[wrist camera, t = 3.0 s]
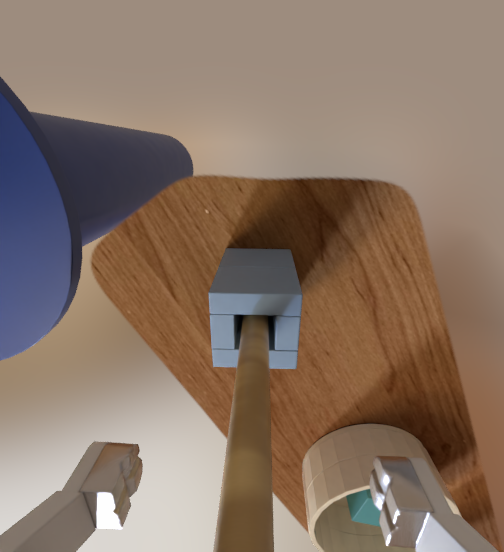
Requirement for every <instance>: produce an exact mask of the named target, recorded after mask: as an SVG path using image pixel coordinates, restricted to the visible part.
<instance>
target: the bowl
mask: <svg viewBox="0 0 504 552" xmlns="http://www.w3.org/2000/svg"><path fill="white" fill-rule="evenodd" d="M375 456H400V457H414V458H423V459H424V460H425V461H426V462H427V464H428V466H429V468H430V470H431V472H432V474H433V476H434V478H435V480H436V482H437V483H438V485H439V487H440V489H441V491H442V493H443V495H444V497H445V499H446V501H447V503H448V505H449V506H450V508H451V510H452V512H453V514H459V515H460V516H461V514H460V511H459V509H458V507H457V505H456V504H455V502H454V500H453V498H452V496H451V494H450V492H449V491H448V489H447V487H446V485H445V483H444V481H443V480H442V478H441V476H440V474H439V472H438V470H437V469H436V467H435V465H434V463H433V461H432V459H431V458H430V456H429V454H428V452H427V450H426V449H425V447H424V446H423V444H422V443H421V442H420V441H419V440H418V439H417V438H416V437H415V436H413V435H412V434H410V433H408V432H407V431H404V430H402V429H400V428H396V427H393V426H389V425H383V424H359V425H353V426H348V427H344V428H341V429H338V430H336V431H333V432H331V433H329V434H327V435H325V436H324V437H322V438H321V439H319V440H318V441H317V442H316V443H314V444H313V445H312V447H311V448H310V449H309V450H308V452H307V453H306V455H305V457H304V460H303V464H302V478H303V486H304V495H305V503H306V512H307V520H308V529H309V534H310V537H311V540H312V543H313V544H314V545H315V547H316V548H317V549H318V550H319V551H320V552H416V551H415V549H416V548H405V547H395V546H387V545H386V542H385V539H384V536H383V532H382V529H381V527H379V526H374V525H370V524H365V523H360V522H355V521H352V519H351V515H350V511H349V507H348V503H347V498H346V496H347V495H349V494H352V493H356V492H359V491H363V490H366V489H370V481H369V478H370V473H371V471H372V470H374V469H375V468H374V465H373V460H374V457H375ZM461 517H462V516H461Z"/></svg>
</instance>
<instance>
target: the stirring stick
mask: <svg viewBox="0 0 504 552" xmlns="http://www.w3.org/2000/svg"><path fill="white" fill-rule="evenodd" d="M273 539H274V537H273V497H272V454H271V412H270V371H269V329H268V315H244V314H243V322H242V330H241V338H240V346H239V354H238V362H237V369H236V377H235V385H234V393H233V401H232V409H231V417H230V424H229V432H228V440H227V448H226V456H225V464H224V472H223V480H222V487H221V496H220V503H219V511H218V519H217V527H216V535H215V542H214V551H213V552H274V540H273Z"/></svg>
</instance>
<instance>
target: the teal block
mask: <svg viewBox="0 0 504 552" xmlns="http://www.w3.org/2000/svg"><path fill="white" fill-rule="evenodd" d="M346 498H347V503H348V507H349V511H350V515H351V519H352V521H355V522H360V523H365V524H370V525H374V526H379V527H381V526H380V523H379V517H380V514H381V512H380V511H379V509H378V508H377V507H376V506H375V505H374V503H373V499H372V496H371V491H370V489H366V490H363V491H359V492H356V493H352V494H349V495H347V496H346Z"/></svg>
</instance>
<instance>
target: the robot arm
mask: <svg viewBox="0 0 504 552" xmlns="http://www.w3.org/2000/svg"><path fill="white" fill-rule="evenodd" d="M138 454H139V446H138V444H125V443H111V442H93V443H92V444H91V445H90V446H89V447H88V449H87V451H86V452H85V454H84V455H83V457H82V459H81V460H80V462H79V464H78V465H77V467H76V468H75V470H74V472H73V473H72V475H71V477H70V478H69V480H68V481H67V483H66V485H65V487H64V488H63V490H62V491H56V492H55V493H54V494H53V495H51V496H50V497H49V498H48V499H46V500H45V501H44V502H42V503H41V504H40V505H39V506H37V507H36V508H35V509H34V510H32V511H31V512H30V513H29V514H27V515H26V516H25V517H23V518H22V519H21V520H19V521H18V522H17V523H16V524H14V525H13V526H12V527H11V528H9V529H8V530H7V531H5V532H4V533H3V534H2V535H0V552H76V551H77V550H78V549H79V548H80V547H81V545H82V544H83V543H84V542H85V541H86V540H87V539H88V538H89V537H90V536H91V534H92V533H93V532H94V531H95V528H112V529H114V528H115V529H122V527H123V524H124V522H125V519H126V517H127V514H128V511H129V509H130V507H131V503H130V499H129V497H131V496H132V495H133V494H134V493H135V492H136V491H137V488H138V486H139V483H140V480H141V475H142V460H141V459H140V458H139V457H138ZM373 465H374V468H375V469H374V470H372V471H371V473H370V478H369V481H370V491H371V496H372V499H373V503H374V505H375V506H376V507H377V508H378V509H379V511H380V512H381V514H380V517H379V523H380V526H381V529H382V532H383V536H384V539H385V542H386V545H387V546H395V547H405V548H416V549H415V551H416V552H499V551H498V550H497V549H495V548H494V547H493V546H492V545H491V544H490V543H489V542H488V541H487V540H486V539H485V538H484V537H482V536H481V535H480V534H479V533H478V532H477V531H476V530H475V529H474V528H473V527H472V526H471V525H469V524H468V523H467V522H466V521H465V520H464V519H463V518H462V517H461V516H460V515H459V514H453V512H452V510H451V508H450V506H449V505H448V503H447V501H446V499H445V497H444V495H443V493H442V491H441V489H440V487H439V485H438V483H437V482H436V480H435V478H434V476H433V474H432V472H431V470H430V468H429V466H428V464H427V462H426V461H425V460H424V459H423V458H414V457H400V456H375V457H374V460H373Z"/></svg>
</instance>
